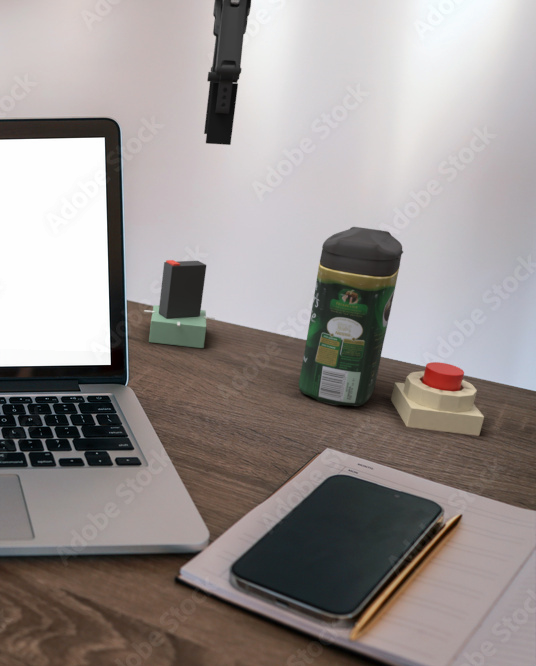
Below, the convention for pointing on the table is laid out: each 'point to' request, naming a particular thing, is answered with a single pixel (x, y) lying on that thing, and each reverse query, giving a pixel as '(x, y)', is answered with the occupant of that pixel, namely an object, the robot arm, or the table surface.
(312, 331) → the coffee jar
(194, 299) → the black box red top
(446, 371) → the button
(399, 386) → the button housing
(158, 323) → the dial panel
